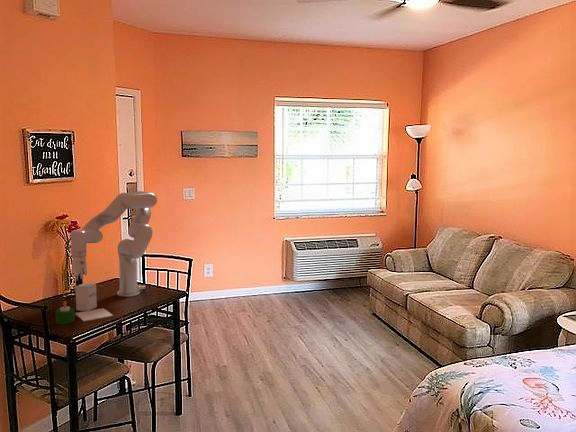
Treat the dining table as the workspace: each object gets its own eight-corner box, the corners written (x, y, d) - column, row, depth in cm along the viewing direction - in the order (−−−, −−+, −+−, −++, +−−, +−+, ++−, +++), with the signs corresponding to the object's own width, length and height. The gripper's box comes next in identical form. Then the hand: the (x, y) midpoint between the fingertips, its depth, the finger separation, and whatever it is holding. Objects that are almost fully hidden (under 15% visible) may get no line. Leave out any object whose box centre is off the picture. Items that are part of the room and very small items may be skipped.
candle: (52, 321, 237) (51, 301, 236) (67, 317, 244) (67, 297, 243) (63, 325, 233) (62, 304, 232) (78, 320, 240) (78, 300, 239)
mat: (103, 309, 258) (103, 308, 258) (112, 316, 248) (112, 314, 248) (75, 314, 249) (75, 313, 249) (83, 321, 239) (83, 320, 239)
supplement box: (88, 311, 252) (87, 286, 251) (75, 310, 254) (74, 286, 253) (97, 307, 259) (96, 283, 258) (84, 306, 261) (83, 282, 260)
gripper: (90, 255, 258) (91, 289, 260) (81, 250, 269) (81, 283, 272) (75, 256, 253) (76, 291, 256) (66, 251, 265) (67, 285, 267)
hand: (79, 287), depth 264 cm, fingers closed
